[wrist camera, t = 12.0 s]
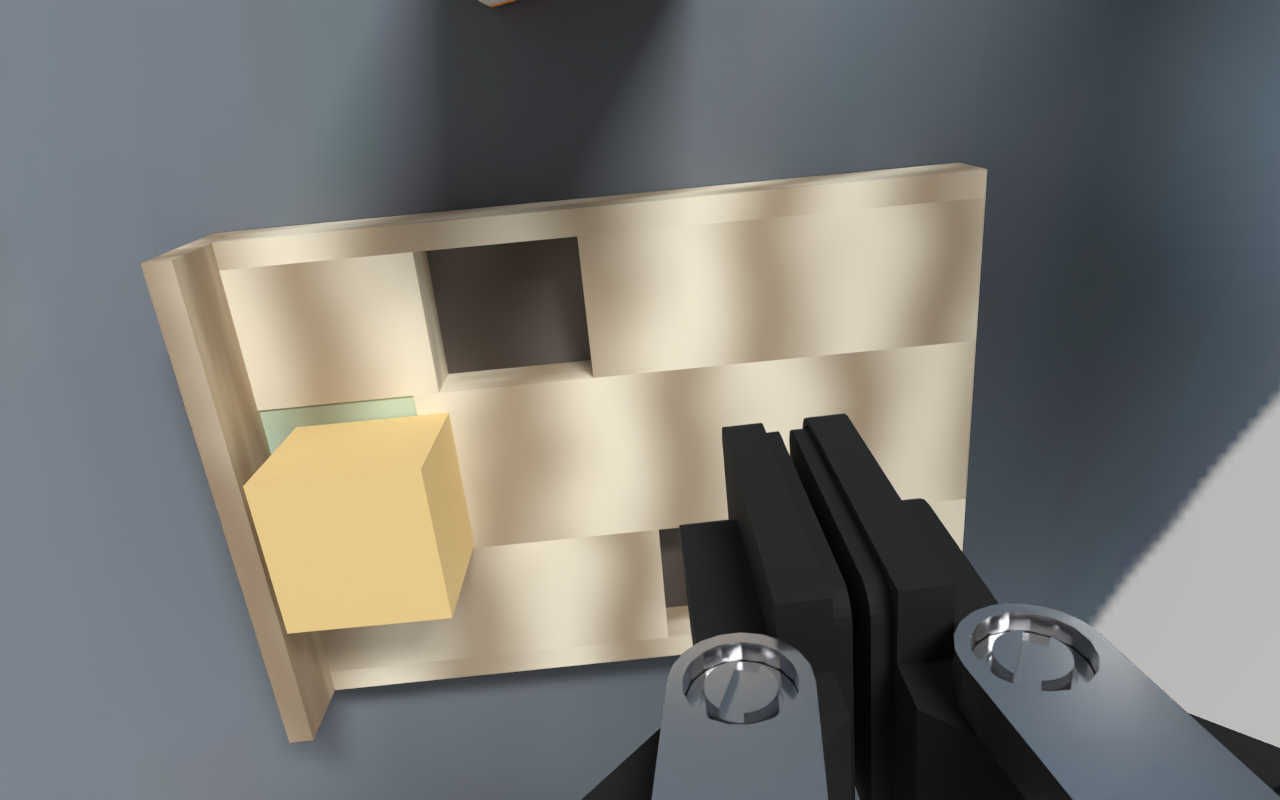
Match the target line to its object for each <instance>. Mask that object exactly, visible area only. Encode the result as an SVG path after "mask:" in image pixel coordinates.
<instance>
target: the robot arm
mask: <svg viewBox="0 0 1280 800" xmlns="http://www.w3.org/2000/svg"><path fill="white" fill-rule="evenodd" d="M722 445H723V457H724V469H725V482H726V494H727V507H728V520H719V521H711V522H702V523H693V524H684V525H679V529H680V539H681V549H682V558H683V567H684V576H685V585H686V594H687V603H688V611H689V619H690V628H691V635H692V643H693V646H692V647H691V648H689V649H688V650H686V651H684V652H683V653H682V655H681V656H680V657H679V658H678V659H677V660H676V662H675V663H674V664H673V665H672V667H671V670H670V673H669V676H668V679H667V683H666V690H665V698H664V706H663V714H662V722H661V728H660V729H659V730H658V731H657V732H656V733H654V734H653V735H652V736H651V737H650V738H649V739H648V740H647V741H646V742H645V743H643V744H642V745H641V746H640V747H639V748H638V749H637V750H636V751H635V752H634V753H632V754H631V755H630V756H629V757H628V758H627V759H626V760H625V761H624V762H623V763H621V764H620V765H619V766H618V767H617V768H616V769H615V770H614V771H613V772H612V773H610V774H609V775H608V776H607V777H606V778H605V779H604V780H603V781H602V782H601V783H599V784H598V785H597V786H596V787H595V788H594V789H593V790H592V791H591V792H590V793H588V794H587V795H586V796H585V797H584V798H583V799H582V800H855V786H856V789H857V792H858V795H859V798H860V800H1280V748H1278V747H1276V746H1273V745H1270V744H1268V743H1265V742H1262V741H1260V740H1257V739H1255V738H1252V737H1249V736H1247V735H1244V734H1242V733H1239V732H1236V731H1233V730H1231V729H1228V728H1226V727H1223V726H1220V725H1218V724H1215V723H1212V722H1210V721H1207V720H1204V719H1202V718H1200V717H1197V716H1194V715H1192V714H1189V713H1187V712H1186V711H1185V710H1184V709H1182V708H1181V707H1180V706H1179V705H1178V704H1177V703H1176V702H1175V701H1174V700H1173V699H1172V698H1171V697H1169V696H1168V695H1167V694H1166V693H1165V692H1164V691H1163V690H1162V689H1161V688H1160V687H1159V686H1157V685H1156V684H1155V683H1154V682H1153V681H1152V680H1151V679H1150V678H1149V677H1148V676H1146V675H1145V674H1144V673H1143V672H1142V671H1141V670H1140V669H1139V668H1138V667H1137V666H1136V665H1134V664H1133V663H1132V662H1131V661H1130V660H1129V659H1128V658H1127V657H1126V656H1125V655H1123V654H1122V653H1121V652H1120V651H1119V650H1118V649H1117V648H1116V647H1115V646H1114V645H1112V644H1111V643H1110V642H1109V641H1108V640H1107V639H1106V638H1105V637H1103V636H1102V635H1101V634H1100V633H1099V632H1097V631H1096V630H1095V629H1093V628H1092V627H1090V626H1089V625H1088V624H1086V623H1085V622H1083V621H1082V620H1079V619H1077V618H1075V617H1073V616H1070V615H1068V614H1066V613H1064V612H1062V611H1058V610H1055V609H1051V608H1047V607H1043V606H1039V605H1032V604H1020V603H1007V604H998V602H997V601H996V599H995V598H994V597H993V595H992V594H991V592H990V591H989V589H988V588H987V587H986V585H985V584H984V582H983V581H982V579H981V578H980V576H979V575H978V574H977V572H976V571H975V569H974V568H973V566H972V565H971V564H970V562H969V561H968V559H967V558H966V556H965V555H964V554H963V552H962V551H961V549H960V548H959V546H958V545H957V543H956V542H955V541H954V539H953V538H952V536H951V535H950V533H949V532H948V531H947V529H946V528H945V526H944V525H943V523H942V522H941V520H940V519H939V518H938V516H937V515H936V513H935V512H934V510H933V509H932V508H931V506H930V505H929V504H928V503H927V502H926V501H925V500H924V499H921V498H917V499H908V500H901V498H900V497H899V495H898V494H897V492H896V490H895V489H894V487H893V486H892V484H891V483H890V481H889V480H888V478H887V476H886V475H885V473H884V472H883V470H882V469H881V467H880V466H879V464H878V462H877V461H876V459H875V458H874V456H873V455H872V453H871V451H870V450H869V448H868V447H867V445H866V444H865V442H864V441H863V439H862V437H861V436H860V434H859V433H858V431H857V430H856V428H855V427H854V425H853V423H852V422H851V420H850V419H849V417H848V416H847V415H846V414H845V413H843V414H834V415H826V416H817V417H808V418H804V420H803V427H802V429H794V430H790V434H789V446H790V455H789V453H788V450H787V448H786V446H785V444H784V441H783V439H782V437H781V434H780V432H779V431H777V432H768V433H766V431H765V428H764V426H763V424H762V423H755V424H746V425H737V426H728V427H722Z"/></svg>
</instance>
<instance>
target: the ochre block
mask: <svg viewBox="0 0 1280 800" xmlns="http://www.w3.org/2000/svg"><path fill="white" fill-rule="evenodd" d="M243 488H244V491H245V495H246V498H247V501H248V505H249V508H250V511H251V515H252V518H253V521H254V524H255V528H256V531H257V534H258V538H259V541H260V544H261V548H262V551H263V554H264V558H265V561H266V564H267V568H268V571H269V574H270V578H271V581H272V584H273V588H274V591H275V594H276V598H277V601H278V604H279V607H280V611H281V614H282V617H283V621H284V624H285V627H286V631H287V634H289V633H300V632H310V631H321V630H331V629H342V628H353V627H363V626H374V625H385V624H395V623H406V622H416V621H427V620H438V619H448V618H452V617H453V614H454V611H455V607H456V604H457V601H458V597H459V594H460V591H461V587H462V584H463V581H464V577H465V574H466V571H467V567H468V564H469V561H470V557H471V554H472V551H473V547H474V541H473V536H472V531H471V526H470V521H469V515H468V510H467V505H466V500H465V494H464V489H463V484H462V479H461V474H460V468H459V463H458V458H457V453H456V448H455V442H454V437H453V432H452V427H451V422H450V416H449V413H439V414H428V415H418V416H407V417H397V418H387V419H376V420H366V421H356V422H345V423H335V424H324V425H314V426H304V427H296V428H295V429H294V430H293V431H292V433H291V434H290V435H289V436H288V437H287V438H286V439H285V440H284V441H283V443H282V444H281V445H280V446H279V447H278V448H277V449H276V450H275V451H274V453H273V454H272V455H271V456H270V457H269V458H268V459H267V460H266V461H265V462H264V464H263V465H262V466H261V467H260V468H259V469H258V470H257V471H256V472H255V474H254V475H253V476H252V477H251V478H250V479H249V480H248V481H247V482H246V484H245V485H244V486H243Z"/></svg>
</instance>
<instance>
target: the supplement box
mask: <svg viewBox="0 0 1280 800" xmlns="http://www.w3.org/2000/svg"><path fill="white" fill-rule="evenodd" d="M478 1H480V2H481V3H483V4H485V5H487V6H489V7H495V6H499V5H503V4H506V3H510V2H513V1H515V0H478Z"/></svg>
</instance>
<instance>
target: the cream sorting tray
mask: <svg viewBox="0 0 1280 800" xmlns="http://www.w3.org/2000/svg"><path fill="white" fill-rule="evenodd" d="M986 181H987V169H984V168H980V167H976V166H971V165H967V164H963V163H949V164H939V165H928V166H918V167H907V168H897V169H886V170H876V171H865V172H855V173H844V174H833V175H823V176H812V177H802V178H791V179H781V180H770V181H760V182H749V183H739V184H728V185H718V186H707V187H696V188H686V189H675V190H665V191H654V192H644V193H633V194H623V195H612V196H602V197H591V198H580V199H570V200H559V201H549V202H538V203H528V204H517V205H507V206H496V207H486V208H475V209H465V210H454V211H443V212H433V213H422V214H412V215H401V216H391V217H380V218H370V219H359V220H349V221H338V222H328V223H317V224H306V225H296V226H285V227H275V228H264V229H254V230H243V231H233V232H222V233H213V234H211V235H208V236H206V237H203V238H201V239H199V240H196V241H194V242H191V243H189V244H186V245H184V246H182V247H179V248H177V249H174V250H172V251H169V252H167V253H165V254H162V255H160V256H157V257H155V258H153V259H150V260H148V261H145V262H143V263H141V266H142V270H143V273H144V276H145V279H146V283H147V286H148V289H149V292H150V295H151V299H152V302H153V305H154V308H155V312H156V315H157V318H158V321H159V324H160V328H161V331H162V334H163V337H164V341H165V344H166V347H167V350H168V353H169V357H170V360H171V363H172V366H173V370H174V373H175V376H176V379H177V382H178V386H179V389H180V392H181V395H182V399H183V402H184V405H185V408H186V411H187V415H188V418H189V421H190V424H191V427H192V431H193V434H194V437H195V440H196V444H197V447H198V450H199V453H200V456H201V460H202V463H203V466H204V469H205V473H206V476H207V479H208V482H209V485H210V489H211V492H212V495H213V498H214V502H215V505H216V508H217V511H218V514H219V518H220V521H221V524H222V527H223V531H224V534H225V537H226V540H227V543H228V547H229V550H230V553H231V556H232V560H233V563H234V566H235V569H236V572H237V576H238V579H239V582H240V585H241V589H242V592H243V595H244V598H245V601H246V605H247V608H248V611H249V614H250V617H251V621H252V624H253V627H254V630H255V634H256V637H257V640H258V643H259V646H260V650H261V653H262V656H263V659H264V663H265V666H266V669H267V672H268V675H269V679H270V682H271V685H272V688H273V692H274V695H275V698H276V701H277V704H278V708H279V711H280V714H281V717H282V721H283V724H284V727H285V730H286V733H287V737H288V740H289V743H292V742H302V741H311V740H314V738H315V736H316V734H317V731H318V729H319V727H320V724H321V722H322V720H323V717H324V715H325V713H326V710H327V708H328V705H329V703H330V701H331V698H332V696H333V694H334V691H335V690H341V689H351V688H361V687H370V686H380V685H390V684H400V683H409V682H419V681H429V680H439V679H448V678H458V677H468V676H478V675H488V674H497V673H507V672H517V671H527V670H536V669H546V668H556V667H566V666H576V665H585V664H595V663H605V662H615V661H624V660H634V659H644V658H654V657H663V656H673V655H682V653H683V652H684V651H686V650H688V649H689V648H691V647H692V646H693V643H692V635H691V628H690V619H689V611H688V603H687V594H686V585H685V576H684V567H683V558H682V549H681V539H680V529H679V525H684V524H693V523H702V522H711V521H719V520H728V507H727V494H726V482H725V469H724V457H723V445H722V427H728V426H737V425H746V424H755V423H762V424H763V426H764V428H765V431H766V433H768V432H777V431H779V432H780V434H781V437H782V439H783V441H784V444H785V446H786V448H787V450H788V453H789V455H790V446H789V434H790V430H794V429H802V427H803V420H804V418H808V417H817V416H826V415H834V414H843V413H845V414H846V415H847V416H848V417H849V419H850V420H851V422H852V423H853V425H854V427H855V428H856V430H857V431H858V433H859V434H860V436H861V437H862V439H863V441H864V442H865V444H866V445H867V447H868V448H869V450H870V451H871V453H872V455H873V456H874V458H875V459H876V461H877V462H878V464H879V466H880V467H881V469H882V470H883V472H884V473H885V475H886V476H887V478H888V480H889V481H890V483H891V484H892V486H893V487H894V489H895V490H896V492H897V494H898V495H899V497H900V498H901V500H908V499H917V498H921V499H924V500H925V501H926V502H927V503H928V504H929V505H930V506H931V508H932V509H933V510H934V512H935V513H936V515H937V516H938V518H939V519H940V520H941V522H942V523H943V525H944V526H945V528H946V529H947V531H948V532H949V533H950V535H951V536H952V538H953V539H954V541H955V542H956V543H957V545H958V546H959V548H960V549H961V551H962V549H963V534H964V518H965V503H966V488H967V473H968V457H969V442H970V427H971V411H972V396H973V381H974V365H975V350H976V335H977V319H978V304H979V289H980V273H981V258H982V243H983V227H984V212H985V197H986ZM439 413H449V416H450V422H451V427H452V432H453V437H454V442H455V448H456V453H457V458H458V463H459V468H460V474H461V479H462V484H463V489H464V494H465V500H466V505H467V510H468V515H469V521H470V526H471V531H472V536H473V541H474V547H473V551H472V554H471V557H470V561H469V564H468V567H467V571H466V574H465V577H464V581H463V584H462V587H461V591H460V594H459V597H458V601H457V604H456V607H455V611H454V614H453V617H452V618H448V619H438V620H427V621H416V622H406V623H395V624H385V625H374V626H363V627H353V628H342V629H331V630H321V631H310V632H300V633H289V634H287V631H286V627H285V624H284V621H283V617H282V614H281V611H280V607H279V604H278V601H277V598H276V594H275V591H274V588H273V584H272V581H271V578H270V574H269V571H268V568H267V564H266V561H265V558H264V554H263V551H262V548H261V544H260V541H259V538H258V534H257V531H256V528H255V524H254V521H253V518H252V515H251V511H250V508H249V505H248V501H247V498H246V495H245V491H244V488H243V486H244V485H245V484H246V482H247V481H248V480H249V479H250V478H251V477H252V476H253V475H254V474H255V472H256V471H257V470H258V469H259V468H260V467H261V466H262V465H263V464H264V462H265V461H266V460H267V459H268V458H269V457H270V456H271V455H272V454H273V453H274V451H275V450H276V449H277V448H278V447H279V446H280V445H281V444H282V443H283V441H284V440H285V439H286V438H287V437H288V436H289V435H290V434H291V433H292V431H293V430H294V429H295V428H296V427H304V426H314V425H324V424H335V423H345V422H356V421H366V420H376V419H387V418H397V417H407V416H418V415H428V414H439Z"/></svg>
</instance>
